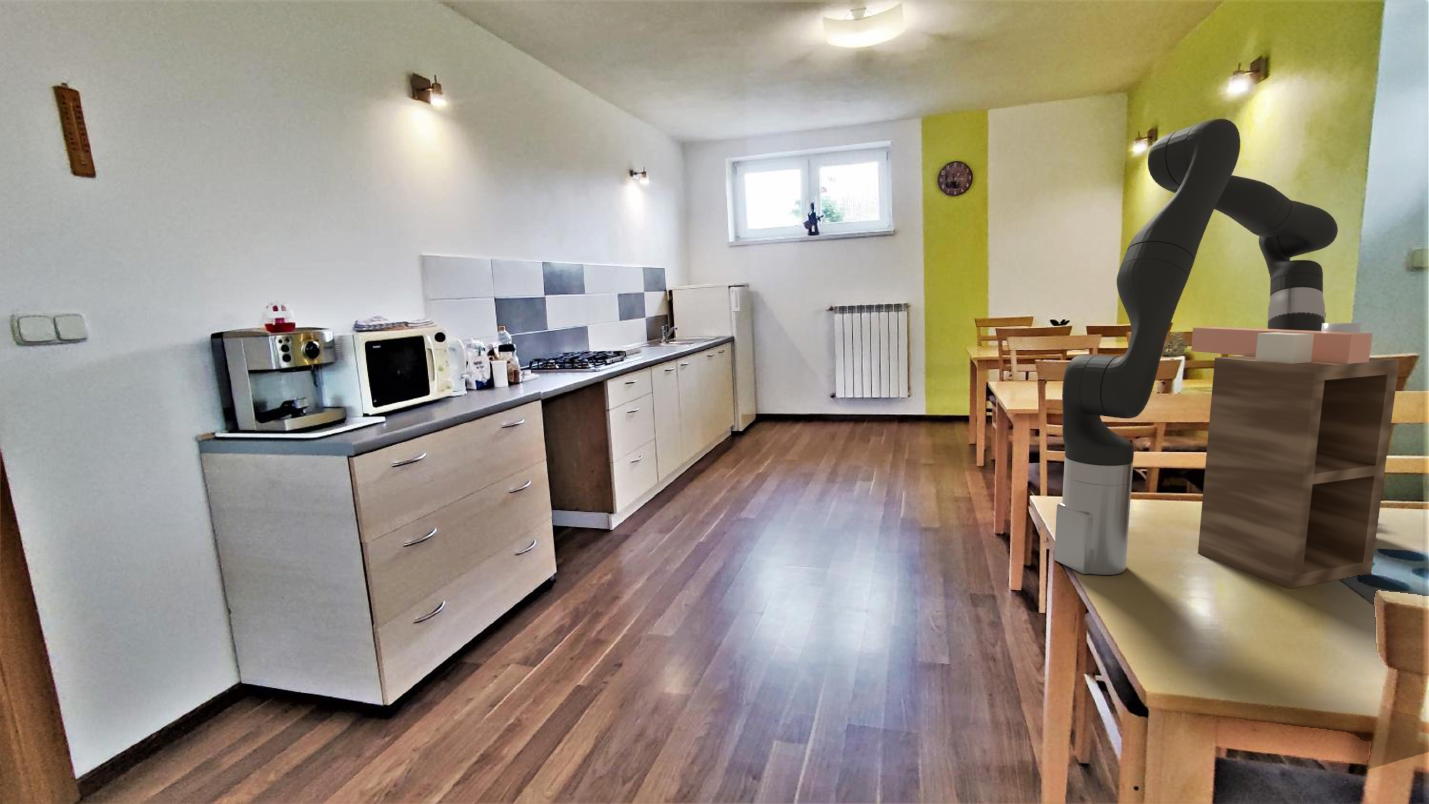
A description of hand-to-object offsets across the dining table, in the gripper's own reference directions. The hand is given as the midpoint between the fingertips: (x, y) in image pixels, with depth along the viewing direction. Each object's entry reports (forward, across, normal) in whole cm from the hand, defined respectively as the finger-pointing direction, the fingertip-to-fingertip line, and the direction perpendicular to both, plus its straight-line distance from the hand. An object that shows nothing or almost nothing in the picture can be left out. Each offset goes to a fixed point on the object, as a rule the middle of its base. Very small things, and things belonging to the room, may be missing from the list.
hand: (1294, 408), depth 112 cm
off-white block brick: (0, +2, -23) cm, 23 cm away
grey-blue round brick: (-3, +7, -14) cm, 16 cm away
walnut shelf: (+27, -1, -4) cm, 27 cm away
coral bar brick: (-3, 0, -16) cm, 17 cm away
